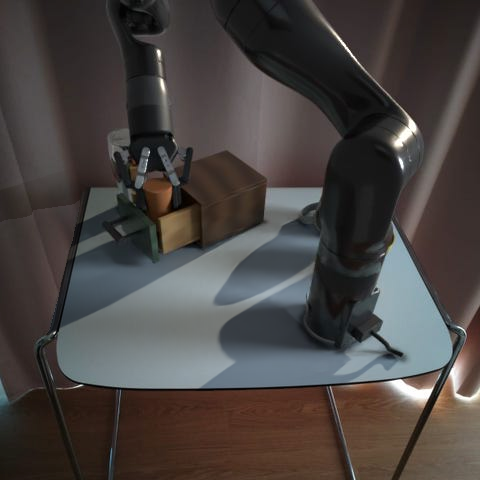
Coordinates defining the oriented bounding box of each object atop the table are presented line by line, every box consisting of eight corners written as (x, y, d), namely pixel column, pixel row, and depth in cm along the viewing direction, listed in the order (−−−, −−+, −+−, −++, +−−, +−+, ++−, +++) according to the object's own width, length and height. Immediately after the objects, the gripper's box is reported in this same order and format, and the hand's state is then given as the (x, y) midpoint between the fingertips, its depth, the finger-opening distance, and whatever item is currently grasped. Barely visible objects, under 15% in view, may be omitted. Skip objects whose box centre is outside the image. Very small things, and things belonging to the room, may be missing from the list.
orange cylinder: (179, 225, 89) (177, 187, 84) (156, 235, 87) (152, 196, 82) (165, 213, 92) (162, 174, 86) (142, 221, 90) (137, 183, 84)
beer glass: (124, 196, 102) (113, 125, 91) (157, 199, 101) (150, 129, 90) (113, 215, 97) (100, 143, 86) (148, 219, 97) (139, 148, 86)
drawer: (129, 273, 84) (123, 237, 79) (99, 239, 90) (91, 203, 85) (216, 236, 92) (216, 200, 87) (183, 207, 98) (181, 171, 93)
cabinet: (202, 248, 91) (201, 204, 84) (166, 215, 98) (162, 171, 91) (263, 221, 97) (267, 178, 90) (226, 192, 104) (226, 149, 97)
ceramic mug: (354, 216, 100) (362, 182, 94) (350, 240, 94) (357, 206, 89) (302, 207, 101) (307, 173, 96) (295, 230, 96) (299, 196, 90)
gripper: (189, 117, 89) (199, 212, 90) (108, 121, 87) (119, 218, 88) (192, 100, 82) (202, 203, 83) (103, 104, 80) (115, 210, 81)
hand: (159, 210), depth 85 cm, fingers closed on orange cylinder, 4 cm apart
